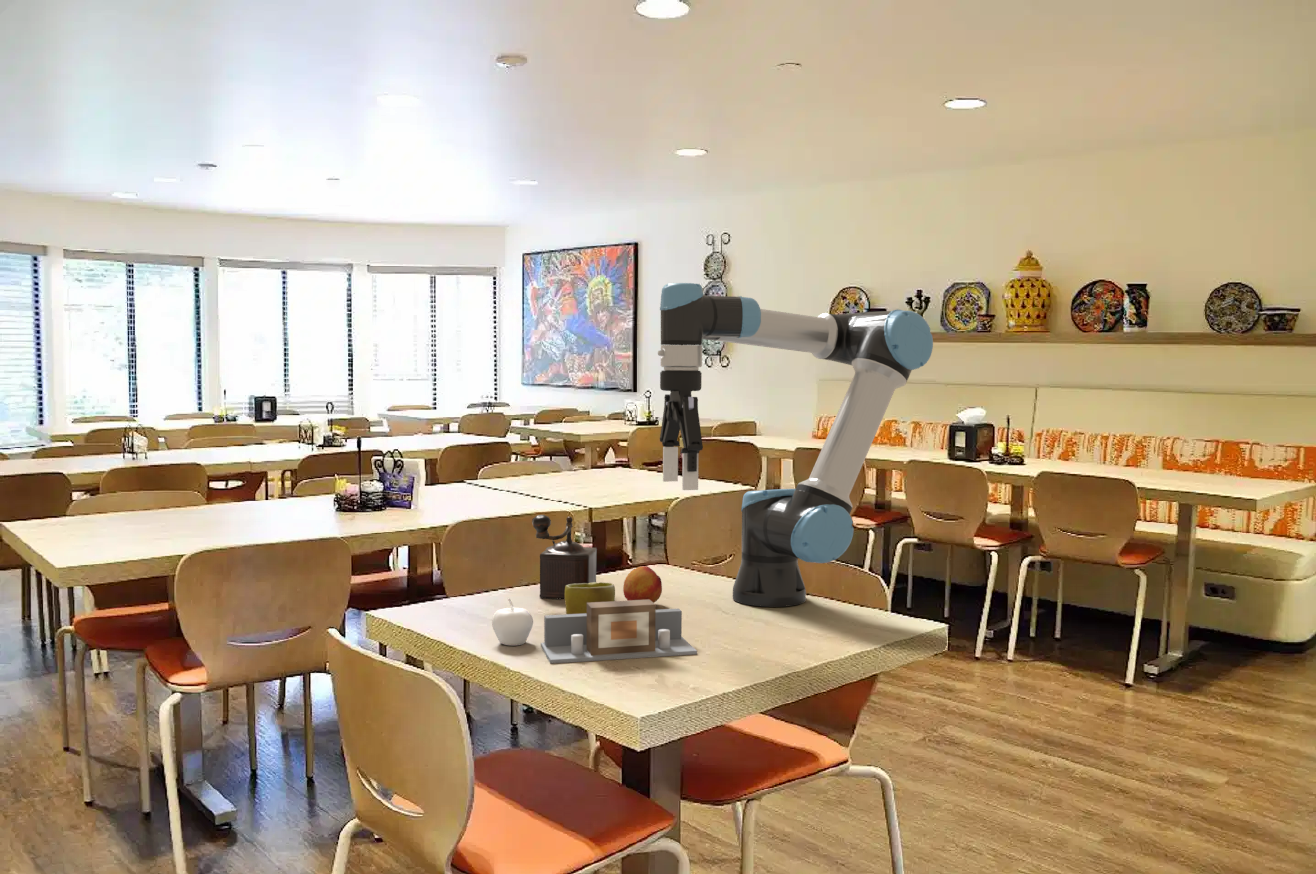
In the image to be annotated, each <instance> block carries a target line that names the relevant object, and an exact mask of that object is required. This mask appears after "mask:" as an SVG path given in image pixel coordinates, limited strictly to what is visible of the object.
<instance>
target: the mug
mask: <svg viewBox="0 0 1316 874" xmlns="http://www.w3.org/2000/svg"><path fill="white" fill-rule="evenodd" d="M615 599H616V587H615V585H614V584H613V583H611V582H603V581H602V582H598V581H596V582H593V583H588V584H587V583H581V584H569V585H566V586H565V600H564V603H565V613H566V614H583V613H587V603H591V602H609V601H615Z"/></svg>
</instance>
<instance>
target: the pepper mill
mask: <svg viewBox="0 0 1316 874" xmlns="http://www.w3.org/2000/svg"><path fill="white" fill-rule="evenodd" d="M573 520H574V519H573V517H571V516H567V517H566V523H565V530H564V531H563V532H562V533H560V534H558V535H550V532H549V527H550V526H551V524H552V520H551V518H550V517H549V516H547V515H545V514H538V515H536V516H535V517H533V518H532V520H531V523H532V526H533V528H534V529H535V531H536V533H535V537H536V539H542V540H551V541H552V545H550V546H548V547H546V548H545V550H544V551H543V552H541V553H540V554H539V598H540V599H541V598H542V599H548V600H564V601H565V586H566V585H569V584H581V583H587V584H588V583H593V582H597V550H598V549H597V547H589V546H587V547H584V546H583V545H582V544H580V543H578V542H576V541H573V539H572V528H573ZM565 537H566V539H565V540H562V541H560V542H559V541H558V540H561V539H563V538H565ZM555 541H558V542H555Z"/></svg>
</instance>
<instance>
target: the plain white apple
mask: <svg viewBox="0 0 1316 874" xmlns="http://www.w3.org/2000/svg"><path fill="white" fill-rule="evenodd" d="M507 601H508V603H509V605H510V607H504V608H500V609H498V610H495V612H494V614H493V616H492V620H491V626H492V630H493V632H494V633H495V635H496V638H497V640H498V642H499V643H500V644H501V645H504V646H513V647H514V646H515V647H516V646H522V645H524V644H525V643H526V641H527V640H528V638H529V635H530V633H531V631H532V628H533V624H534V619H533V615H532V614H531V613H530V612H529V610H528V609H526V608H525V607H524V608H523V607H515V606H514V603H513V602H512V601H511V598H507Z"/></svg>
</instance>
